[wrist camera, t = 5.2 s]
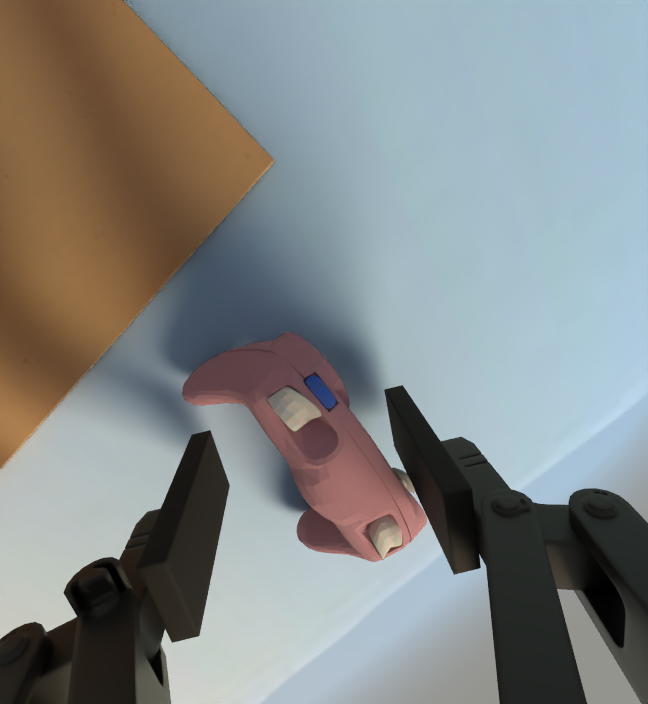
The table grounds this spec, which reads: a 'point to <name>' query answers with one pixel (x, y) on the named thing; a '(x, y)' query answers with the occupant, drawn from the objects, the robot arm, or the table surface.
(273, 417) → the video game controller
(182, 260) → the cork mat
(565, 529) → the robot arm
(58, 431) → the table surface
